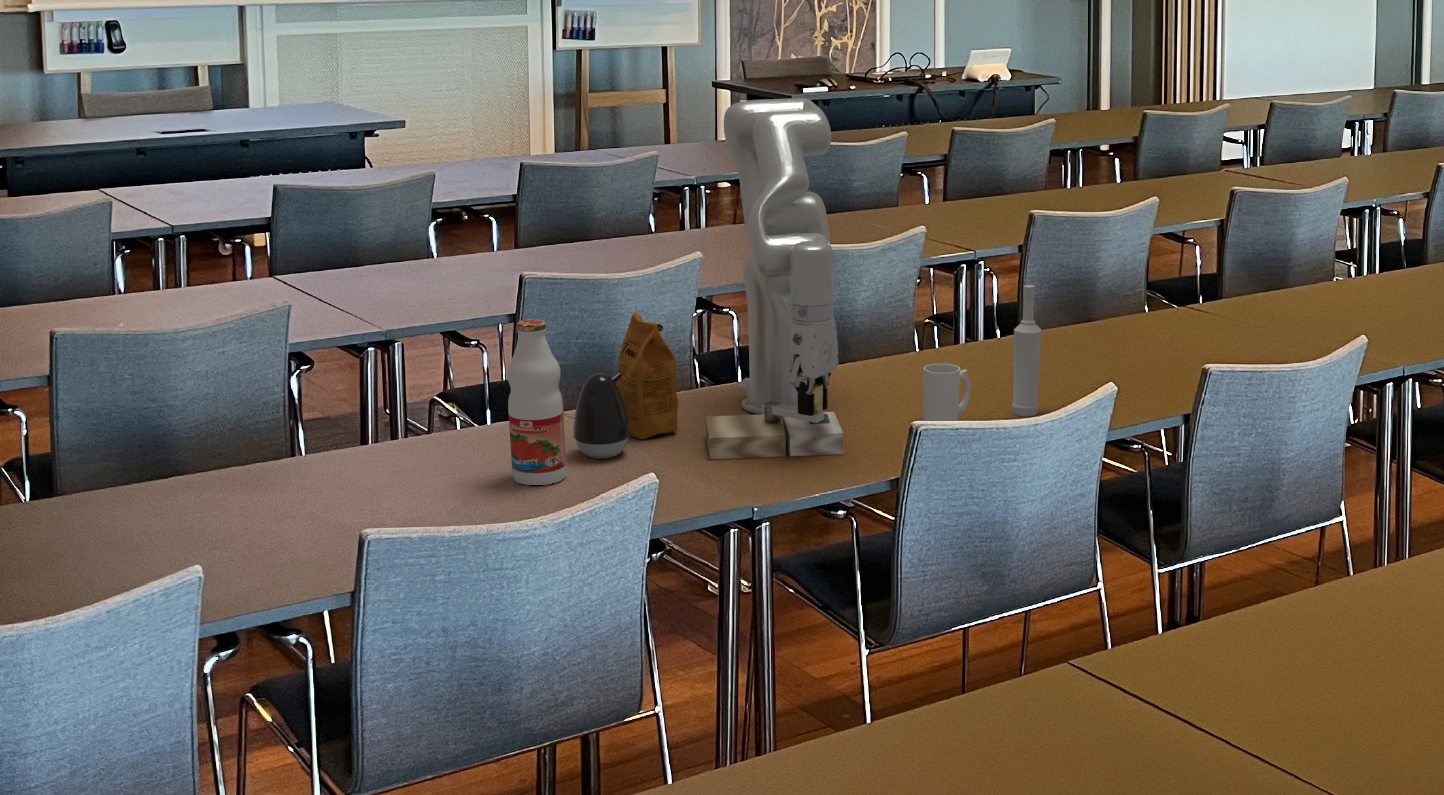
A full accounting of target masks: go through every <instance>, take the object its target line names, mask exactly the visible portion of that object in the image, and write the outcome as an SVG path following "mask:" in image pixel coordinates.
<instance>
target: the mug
mask: <svg viewBox="0 0 1444 795" xmlns="http://www.w3.org/2000/svg"><path fill="white" fill-rule="evenodd" d="M922 369H923V375H922V376H923V377H922V378H923V383H922V384H923V422H924V421H958V422H959V414H960V413H964V412H966V410H967V407H968V403H969V400H970V398H971V393H972V384H971V379H970V377H969V374H968V369H962V370H961V368H960V366H959V365H956V364H952V363H931V364H927V365H924V367H923V368H922ZM961 380H962V381H963V384H964V389H965V390H964V395H963V398H962V400H961V402H960V385H961ZM959 402H960V403H959Z"/></svg>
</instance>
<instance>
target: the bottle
mask: <svg viewBox="0 0 1444 795" xmlns="http://www.w3.org/2000/svg"><path fill="white" fill-rule="evenodd" d="M1035 293H1036V287H1035V285H1033V284H1025V285H1023V309H1022V320H1021V321H1020V323H1019V325H1017V326H1016V327H1015V328H1014V329H1013V386H1012V387H1013V389H1012V390H1013V396H1012V397H1013V398H1012V400H1013V402H1012V403H1011V411H1012V414H1013V415H1016V416H1017V417H1035V416H1037V415H1038V413H1039V410H1040V404H1039V402H1038V401H1039V384H1040V366H1041V352H1042V351H1041V350H1042V349H1041V348H1042V334H1043V333H1042V332H1043V330H1042V329H1041V328H1040V327H1039V326H1038V325H1037V323H1036V321H1035V320H1034V318H1035V316H1034V315H1035V314H1034V313H1035V296H1036V295H1035Z"/></svg>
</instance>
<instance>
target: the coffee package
mask: <svg viewBox="0 0 1444 795" xmlns="http://www.w3.org/2000/svg"><path fill="white" fill-rule="evenodd" d="M643 320H644V319H643V316H642V315H641V314H639V313H638V312H637V311H635V312H633V313H632V314H631V317H630V321H629V323H628V326H627V329H626V333H625V336H624V338H623V341H622V344H621V348H620V353H619V359H618V369H617V373H618V372H620V373H621V374H622V377H621V378H620V379H619V380H618V381H617V382H616V385H617V387H618V389H619V391H620V393H621V396H622V398H623V401H624V404H625V407H626V411H627V415H628V420H629V426H630V436H629V437H633V438H636V439H638V440H645V439H648V438H650V437H654V436H657V435H664V434H670V433H672V432H675V431H678V412H679V411H678V409H679V398H678V396H677V389H678V386H677V385H678V384H677V362H676V361H677V360H676V358H675V356H674V354H673V352H672V351H671V349H670V348H669V346H668V345H667V343H666V342H665V341H664V338H663V336H662V335H661V333H660V332H662V331H663V330H664V329H665V328H664V326H663V325H662V324H660V323H657V322H650V321H643Z"/></svg>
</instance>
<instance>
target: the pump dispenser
mask: <svg viewBox="0 0 1444 795" xmlns="http://www.w3.org/2000/svg"><path fill="white" fill-rule="evenodd" d="M621 377H622V374H621V373H620V372H618V371H617V373H615V374H613V376H611V377H610V376H609V374H605V373H600V372H597V373H593V374H591V375H590V376H588V378H587V379H586V380H585V382H584V384H583V386H582V388H581V389H580V393H579V395H578V396H579V397H578V400H577V403H576V407H575V413H574V421H573V430H572V431H573V432H572V433H573V438H574V440H575V442H576V445H577V447H578V448H579V450H580V452H582V454H584V455H585V456H587V457H589V458H592V459H598V460H600V459H601V460H603V459H611V458H614V457H616V456H617V455H619V454H621V453H622V452H623V451H624V450H625V448H626V446H627V444H628V440H629V437H631V436H630V426H629V420H628V415H627V411H626V407H625V404H624V401H623V398H622V396H621V393H620V391H619V389H618V387H617V381H618V380H619V379H620V378H621Z"/></svg>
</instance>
